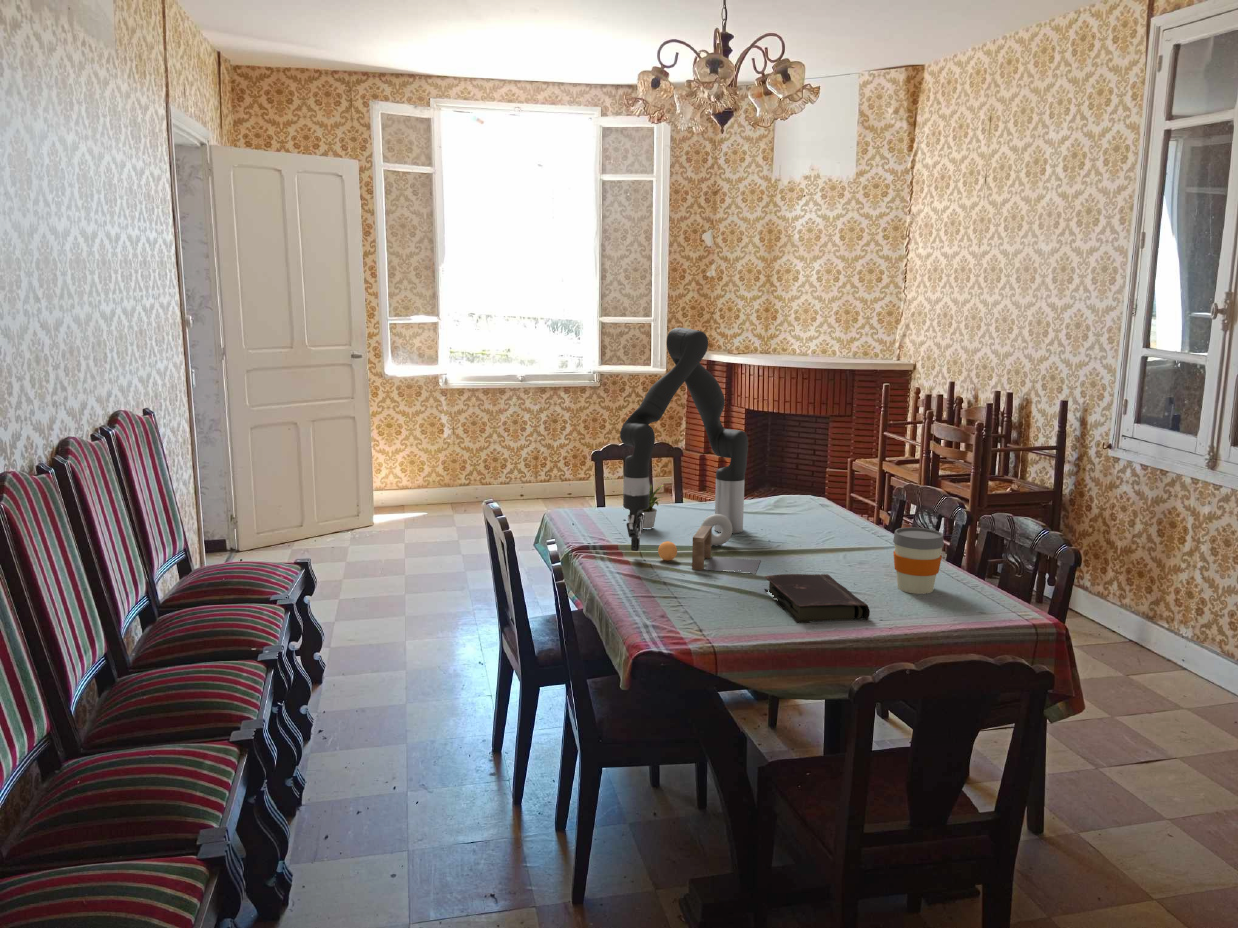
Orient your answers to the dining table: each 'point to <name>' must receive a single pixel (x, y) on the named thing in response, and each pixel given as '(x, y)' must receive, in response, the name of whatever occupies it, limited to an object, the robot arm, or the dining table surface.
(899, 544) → the reusable coffee cup
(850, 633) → the dining table surface
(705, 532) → the bridge
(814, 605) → the diary
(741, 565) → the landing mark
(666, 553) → the ball
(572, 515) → the dining table surface
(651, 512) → the house plant
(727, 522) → the donut
